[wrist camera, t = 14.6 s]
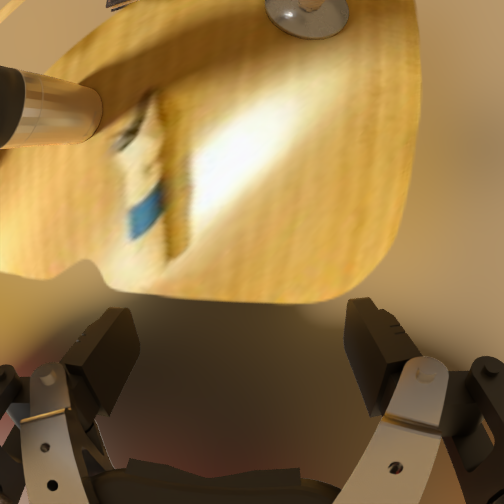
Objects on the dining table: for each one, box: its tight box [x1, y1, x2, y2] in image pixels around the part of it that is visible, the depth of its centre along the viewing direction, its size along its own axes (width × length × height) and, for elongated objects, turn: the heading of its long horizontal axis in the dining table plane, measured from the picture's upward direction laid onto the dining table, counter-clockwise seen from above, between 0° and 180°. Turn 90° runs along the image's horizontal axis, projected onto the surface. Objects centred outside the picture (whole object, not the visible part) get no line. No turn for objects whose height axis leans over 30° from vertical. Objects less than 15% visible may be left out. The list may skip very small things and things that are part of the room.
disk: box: [265, 0, 349, 40], centre depth 28 cm, size 12×12×1 cm
